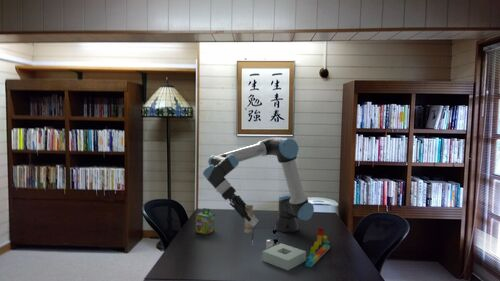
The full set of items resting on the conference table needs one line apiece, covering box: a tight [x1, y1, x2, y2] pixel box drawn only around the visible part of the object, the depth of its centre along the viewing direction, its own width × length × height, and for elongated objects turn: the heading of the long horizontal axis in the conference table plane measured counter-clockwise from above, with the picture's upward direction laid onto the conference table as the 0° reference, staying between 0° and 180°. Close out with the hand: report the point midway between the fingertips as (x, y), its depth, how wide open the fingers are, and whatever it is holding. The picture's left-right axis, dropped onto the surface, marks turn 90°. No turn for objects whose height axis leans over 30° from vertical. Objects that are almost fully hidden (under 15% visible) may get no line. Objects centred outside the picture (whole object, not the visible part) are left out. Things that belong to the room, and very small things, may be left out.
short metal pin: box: [265, 238, 274, 250], centre depth 188 cm, size 4×4×5 cm
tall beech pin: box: [244, 204, 254, 234], centre depth 175 cm, size 4×4×14 cm
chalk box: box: [194, 207, 216, 236], centre depth 213 cm, size 9×9×15 cm
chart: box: [305, 227, 331, 268], centre depth 179 cm, size 30×3×15 cm, turn 150°
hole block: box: [261, 243, 307, 271], centre depth 173 cm, size 16×16×5 cm
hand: (255, 223), depth 174 cm, fingers closed on tall beech pin, 4 cm apart
